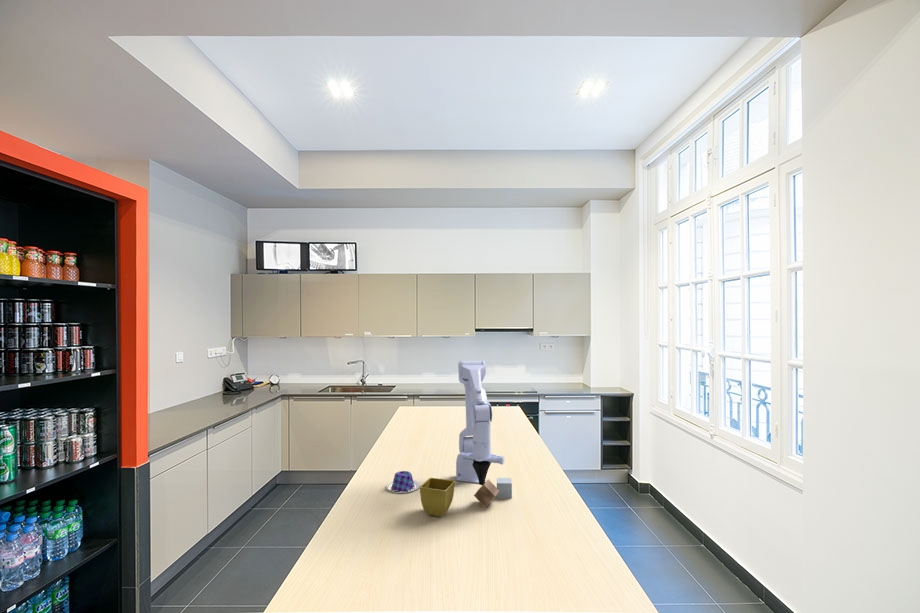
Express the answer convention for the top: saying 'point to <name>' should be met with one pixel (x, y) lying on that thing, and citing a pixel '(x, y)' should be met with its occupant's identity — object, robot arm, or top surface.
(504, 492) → the slate-grey cube
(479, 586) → the top surface
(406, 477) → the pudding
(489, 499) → the walnut cube
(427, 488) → the flower pot
